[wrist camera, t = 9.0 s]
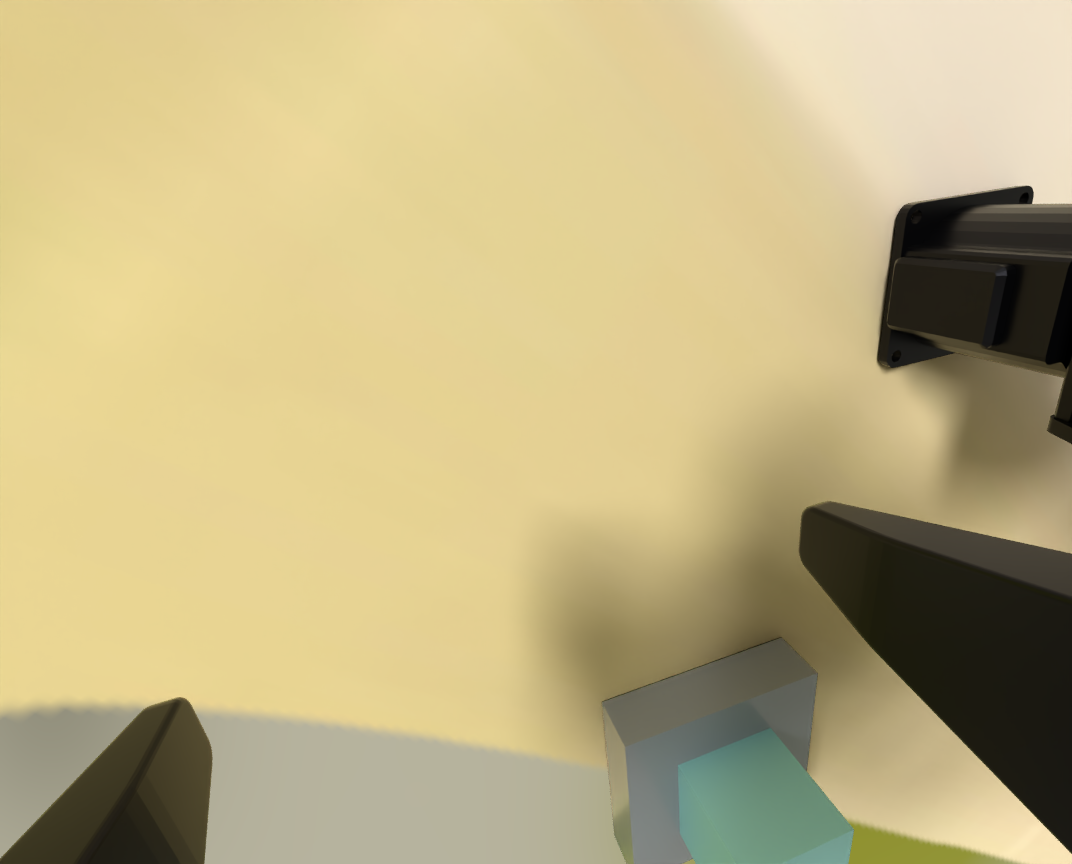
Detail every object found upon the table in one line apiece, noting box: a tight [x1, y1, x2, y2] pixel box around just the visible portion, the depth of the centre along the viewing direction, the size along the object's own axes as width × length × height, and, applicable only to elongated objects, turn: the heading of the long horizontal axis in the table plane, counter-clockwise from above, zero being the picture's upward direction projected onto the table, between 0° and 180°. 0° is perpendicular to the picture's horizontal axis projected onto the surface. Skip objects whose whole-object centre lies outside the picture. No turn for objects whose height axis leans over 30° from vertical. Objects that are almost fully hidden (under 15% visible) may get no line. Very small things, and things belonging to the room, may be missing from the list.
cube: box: [678, 728, 854, 864], centre depth 25 cm, size 5×5×5 cm
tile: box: [602, 638, 818, 864], centre depth 29 cm, size 10×10×2 cm
